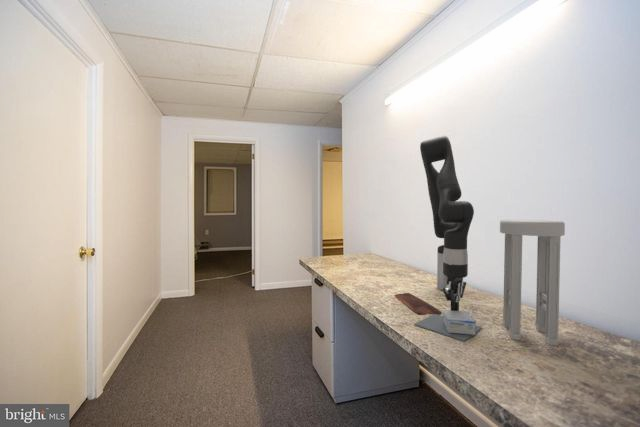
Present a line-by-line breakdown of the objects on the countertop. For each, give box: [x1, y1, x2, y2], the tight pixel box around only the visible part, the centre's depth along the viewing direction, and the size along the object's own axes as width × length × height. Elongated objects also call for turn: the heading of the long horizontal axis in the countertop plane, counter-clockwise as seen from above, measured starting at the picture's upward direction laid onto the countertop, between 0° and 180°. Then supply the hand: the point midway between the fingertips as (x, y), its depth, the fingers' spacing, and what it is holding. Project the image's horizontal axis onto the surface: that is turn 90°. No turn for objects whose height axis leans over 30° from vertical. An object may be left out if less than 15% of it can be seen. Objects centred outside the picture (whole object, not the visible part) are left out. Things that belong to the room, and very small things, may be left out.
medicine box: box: [443, 309, 477, 336], centre depth 94 cm, size 8×4×9 cm
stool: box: [499, 219, 566, 346], centre depth 90 cm, size 16×16×35 cm
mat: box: [414, 314, 483, 343], centre depth 96 cm, size 14×16×1 cm
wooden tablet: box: [394, 292, 443, 316], centre depth 120 cm, size 26×2×10 cm
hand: (454, 312), depth 99 cm, fingers closed
